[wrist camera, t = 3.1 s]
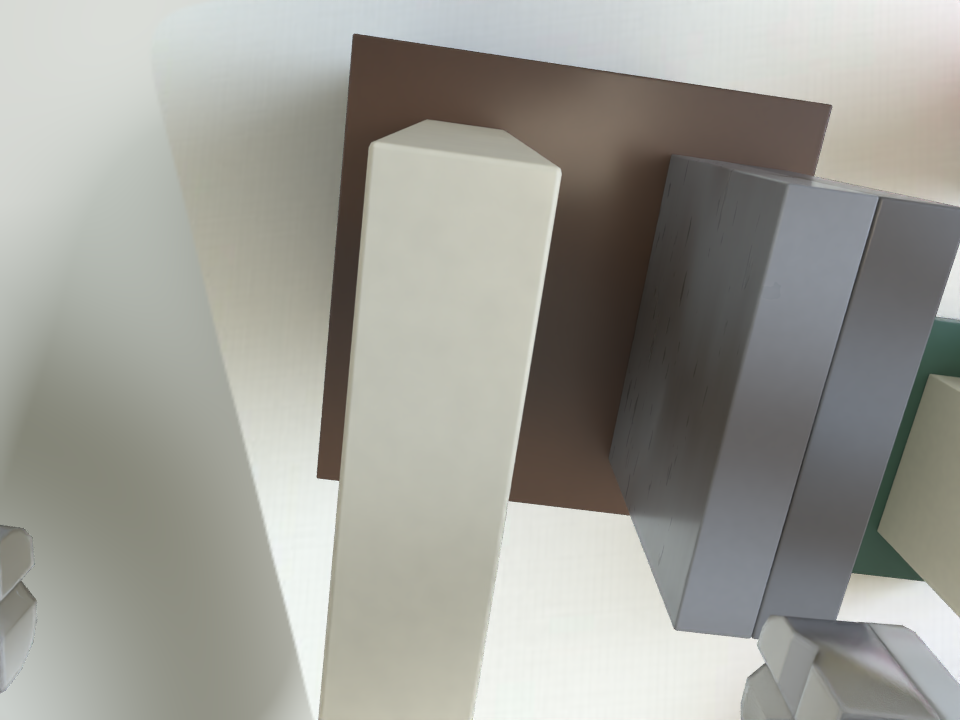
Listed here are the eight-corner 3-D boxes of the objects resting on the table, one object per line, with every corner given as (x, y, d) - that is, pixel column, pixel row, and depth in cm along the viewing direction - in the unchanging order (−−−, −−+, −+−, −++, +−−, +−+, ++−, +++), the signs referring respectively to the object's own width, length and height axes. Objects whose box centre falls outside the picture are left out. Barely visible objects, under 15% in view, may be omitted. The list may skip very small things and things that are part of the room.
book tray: (785, 296, 43) (886, 357, 33) (1028, 329, 44) (1203, 399, 33) (718, 549, 48) (787, 673, 38) (938, 575, 49) (1065, 703, 38)
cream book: (424, 118, 23) (368, 140, 9) (506, 130, 23) (563, 167, 10) (390, 433, 26) (311, 783, 13) (462, 441, 26) (460, 796, 13)
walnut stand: (404, 64, 39) (277, -12, 14) (678, 104, 40) (1050, 105, 14) (377, 331, 43) (241, 658, 18) (625, 363, 44) (838, 722, 19)
